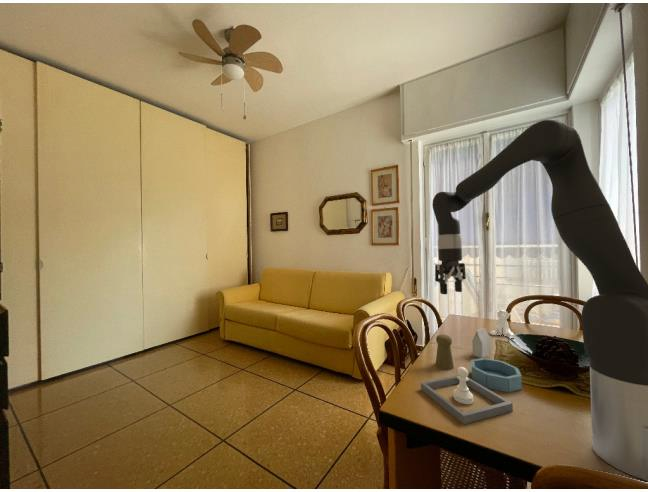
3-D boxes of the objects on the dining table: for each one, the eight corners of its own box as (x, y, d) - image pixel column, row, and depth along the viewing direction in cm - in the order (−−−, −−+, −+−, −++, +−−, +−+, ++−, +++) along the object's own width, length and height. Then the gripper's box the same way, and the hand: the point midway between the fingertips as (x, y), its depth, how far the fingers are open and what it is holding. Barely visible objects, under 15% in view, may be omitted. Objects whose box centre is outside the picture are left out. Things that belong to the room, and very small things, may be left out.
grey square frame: (512, 410, 65) (512, 403, 65) (464, 424, 60) (463, 416, 60) (462, 380, 80) (462, 374, 80) (420, 389, 76) (420, 382, 76)
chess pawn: (451, 400, 70) (450, 368, 70) (455, 392, 74) (454, 361, 74) (471, 407, 67) (470, 373, 67) (475, 398, 71) (474, 366, 71)
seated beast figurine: (490, 335, 120) (489, 310, 121) (491, 330, 127) (490, 307, 127) (514, 339, 115) (513, 313, 115) (514, 334, 122) (513, 309, 122)
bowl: (531, 386, 76) (530, 373, 76) (499, 394, 72) (498, 380, 72) (491, 367, 88) (491, 356, 88) (462, 373, 85) (462, 361, 85)
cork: (456, 370, 87) (455, 338, 87) (437, 369, 88) (436, 338, 88) (451, 362, 93) (450, 333, 93) (433, 361, 94) (433, 332, 94)
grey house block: (491, 354, 100) (490, 329, 100) (482, 358, 96) (481, 332, 96) (481, 351, 103) (480, 326, 103) (472, 355, 99) (471, 329, 99)
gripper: (447, 247, 82) (449, 296, 82) (471, 247, 89) (473, 292, 89) (427, 248, 89) (429, 293, 88) (451, 247, 96) (453, 289, 95)
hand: (451, 292), depth 89 cm, fingers open, 8 cm apart
